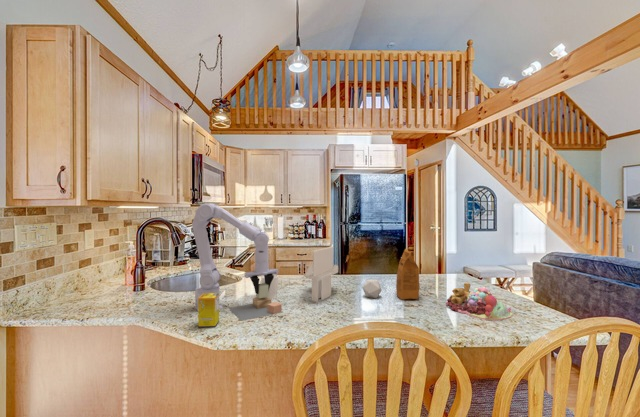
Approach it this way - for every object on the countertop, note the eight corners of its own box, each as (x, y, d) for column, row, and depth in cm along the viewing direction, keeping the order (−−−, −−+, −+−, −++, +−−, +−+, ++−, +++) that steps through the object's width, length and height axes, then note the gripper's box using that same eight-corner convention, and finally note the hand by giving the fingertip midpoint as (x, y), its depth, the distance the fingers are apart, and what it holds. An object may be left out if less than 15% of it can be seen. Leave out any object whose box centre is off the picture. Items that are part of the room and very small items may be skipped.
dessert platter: (436, 307, 133) (436, 286, 133) (462, 297, 148) (462, 277, 148) (499, 325, 114) (500, 300, 114) (522, 311, 129) (522, 288, 129)
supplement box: (203, 322, 116) (202, 293, 116) (219, 321, 116) (219, 292, 116) (197, 328, 110) (197, 297, 110) (215, 328, 110) (215, 297, 110)
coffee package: (415, 293, 153) (415, 248, 153) (421, 301, 141) (421, 252, 140) (394, 292, 154) (394, 248, 154) (398, 300, 142) (398, 252, 141)
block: (273, 314, 124) (273, 306, 123) (267, 311, 126) (267, 304, 126) (281, 311, 126) (281, 304, 126) (275, 309, 129) (275, 301, 129)
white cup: (269, 301, 141) (269, 279, 141) (257, 298, 146) (257, 276, 145) (281, 297, 147) (281, 275, 147) (270, 294, 152) (270, 273, 152)
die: (383, 296, 149) (374, 278, 154) (385, 292, 142) (376, 273, 146) (368, 303, 148) (359, 285, 153) (369, 299, 141) (360, 280, 145)
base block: (257, 309, 129) (257, 301, 129) (252, 305, 134) (252, 298, 134) (271, 306, 133) (271, 299, 133) (265, 302, 138) (265, 295, 138)
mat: (241, 321, 116) (241, 320, 116) (228, 308, 131) (228, 307, 131) (282, 312, 126) (282, 312, 126) (266, 301, 140) (266, 301, 140)
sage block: (259, 298, 131) (259, 286, 130) (256, 295, 134) (256, 284, 134) (268, 296, 133) (268, 285, 133) (264, 294, 136) (264, 283, 136)
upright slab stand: (302, 287, 164) (302, 243, 164) (342, 288, 163) (342, 243, 162) (294, 304, 136) (294, 251, 136) (343, 305, 135) (343, 251, 134)
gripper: (248, 264, 126) (248, 297, 126) (281, 260, 134) (281, 292, 134) (242, 261, 132) (243, 293, 132) (274, 258, 140) (274, 288, 140)
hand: (261, 292), depth 133 cm, fingers closed on sage block, 4 cm apart
